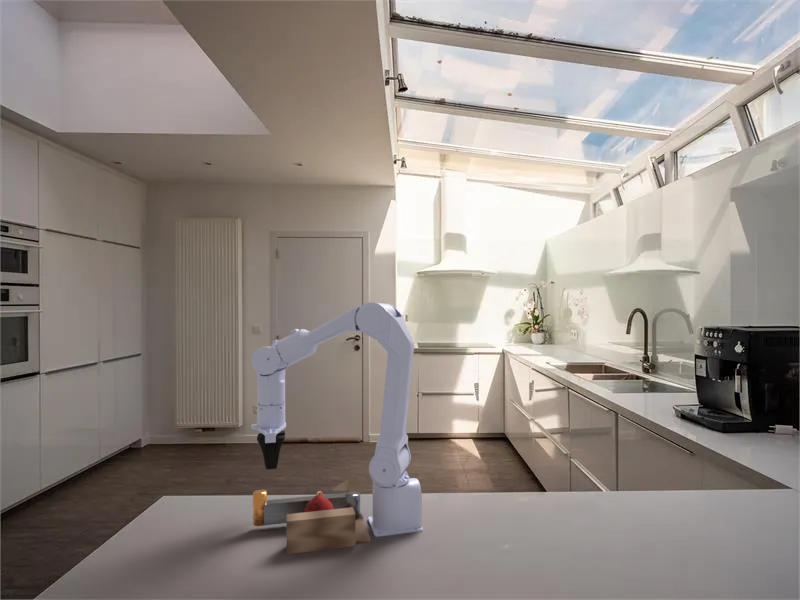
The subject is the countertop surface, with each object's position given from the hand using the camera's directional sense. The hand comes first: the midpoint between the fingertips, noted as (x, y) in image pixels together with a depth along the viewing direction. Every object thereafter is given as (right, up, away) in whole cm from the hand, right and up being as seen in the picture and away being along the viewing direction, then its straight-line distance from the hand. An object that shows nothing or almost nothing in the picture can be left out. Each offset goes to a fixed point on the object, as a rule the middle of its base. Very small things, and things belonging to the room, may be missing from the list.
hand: (271, 468), depth 100 cm
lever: (+9, -8, -5) cm, 13 cm away
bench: (+13, -9, -9) cm, 18 cm away
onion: (+12, -9, -10) cm, 18 cm away
